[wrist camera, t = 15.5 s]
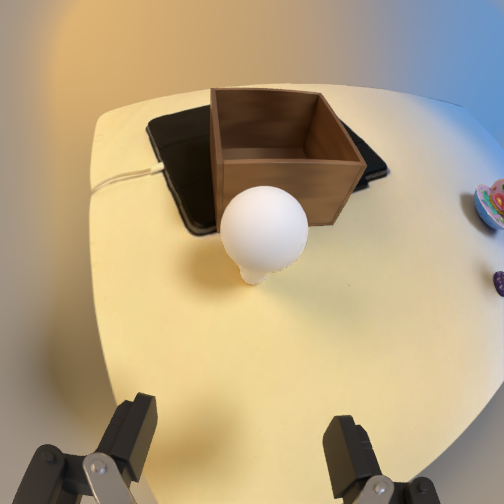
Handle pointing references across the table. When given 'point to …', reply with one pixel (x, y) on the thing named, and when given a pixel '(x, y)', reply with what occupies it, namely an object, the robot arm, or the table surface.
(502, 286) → the toy lamp
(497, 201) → the cell model
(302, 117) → the box
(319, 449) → the table surface
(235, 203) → the lightbulb
